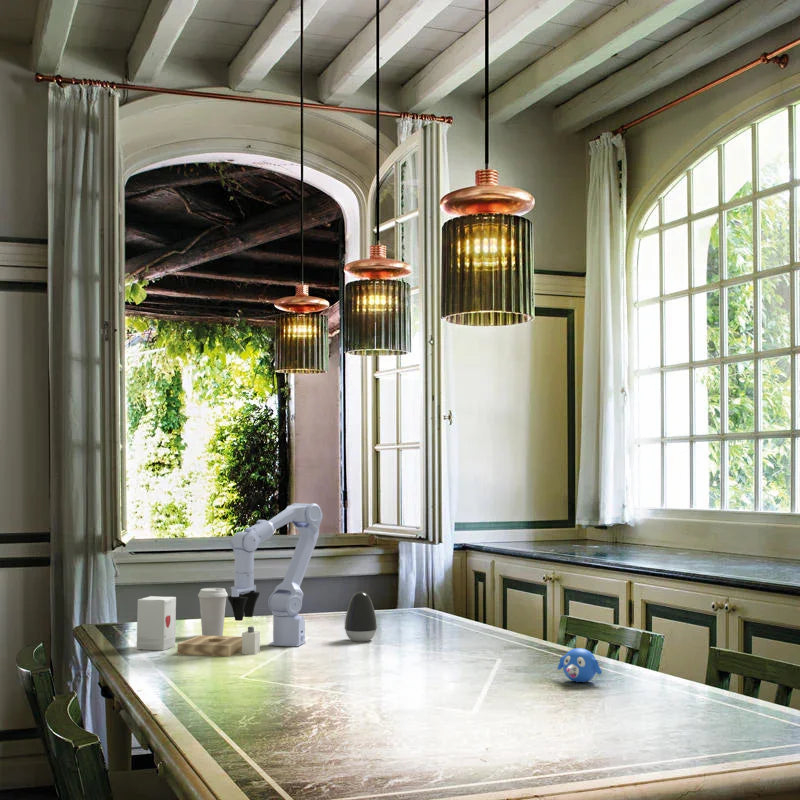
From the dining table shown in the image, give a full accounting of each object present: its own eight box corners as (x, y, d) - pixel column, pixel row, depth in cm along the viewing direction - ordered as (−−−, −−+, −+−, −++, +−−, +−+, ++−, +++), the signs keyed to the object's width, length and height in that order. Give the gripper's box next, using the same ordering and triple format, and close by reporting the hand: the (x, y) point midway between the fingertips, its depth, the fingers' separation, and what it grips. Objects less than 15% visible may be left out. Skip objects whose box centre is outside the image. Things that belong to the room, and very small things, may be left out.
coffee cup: (224, 638, 330) (224, 591, 331) (194, 638, 330) (195, 591, 331) (229, 633, 339) (230, 587, 340) (200, 633, 340) (201, 587, 341)
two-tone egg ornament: (378, 638, 331) (378, 589, 332) (374, 643, 320) (374, 593, 321) (347, 637, 332) (347, 589, 333) (342, 642, 321) (342, 593, 322)
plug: (259, 652, 306) (259, 626, 306) (254, 654, 302) (255, 628, 303) (246, 651, 307) (247, 625, 307) (241, 653, 303) (242, 627, 303)
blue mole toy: (544, 684, 259) (544, 650, 259) (565, 676, 268) (564, 643, 269) (589, 690, 252) (589, 655, 252) (608, 682, 262) (608, 648, 262)
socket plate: (249, 647, 314) (249, 637, 314) (229, 656, 298) (229, 645, 299) (199, 645, 318) (199, 635, 318) (177, 654, 302) (177, 643, 302)
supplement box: (163, 651, 308) (164, 600, 309) (135, 650, 310) (136, 599, 311) (176, 645, 317) (177, 596, 318) (149, 644, 318) (149, 595, 319)
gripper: (241, 569, 317) (240, 614, 316) (221, 574, 303) (221, 621, 302) (262, 570, 315) (262, 615, 314) (244, 575, 301) (244, 622, 300)
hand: (243, 618), depth 308 cm, fingers open, 7 cm apart
